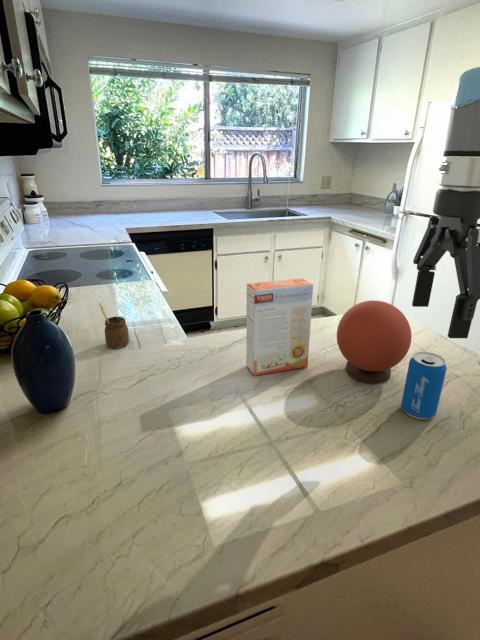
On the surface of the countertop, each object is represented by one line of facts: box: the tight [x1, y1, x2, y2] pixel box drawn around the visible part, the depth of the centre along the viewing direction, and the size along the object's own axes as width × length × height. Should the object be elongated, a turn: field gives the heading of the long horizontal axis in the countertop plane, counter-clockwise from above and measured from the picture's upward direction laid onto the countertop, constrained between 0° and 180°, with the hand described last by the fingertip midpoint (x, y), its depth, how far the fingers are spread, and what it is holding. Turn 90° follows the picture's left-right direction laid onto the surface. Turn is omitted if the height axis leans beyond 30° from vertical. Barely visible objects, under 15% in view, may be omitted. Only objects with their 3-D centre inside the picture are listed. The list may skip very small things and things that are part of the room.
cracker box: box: [246, 277, 314, 377], centre depth 93 cm, size 14×6×21 cm, turn 108°
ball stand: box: [336, 299, 413, 385], centre depth 91 cm, size 16×16×18 cm
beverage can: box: [400, 351, 448, 420], centre depth 78 cm, size 6×6×12 cm
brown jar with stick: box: [98, 302, 130, 349], centre depth 105 cm, size 6×6×12 cm
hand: (436, 320), depth 68 cm, fingers open, 13 cm apart
